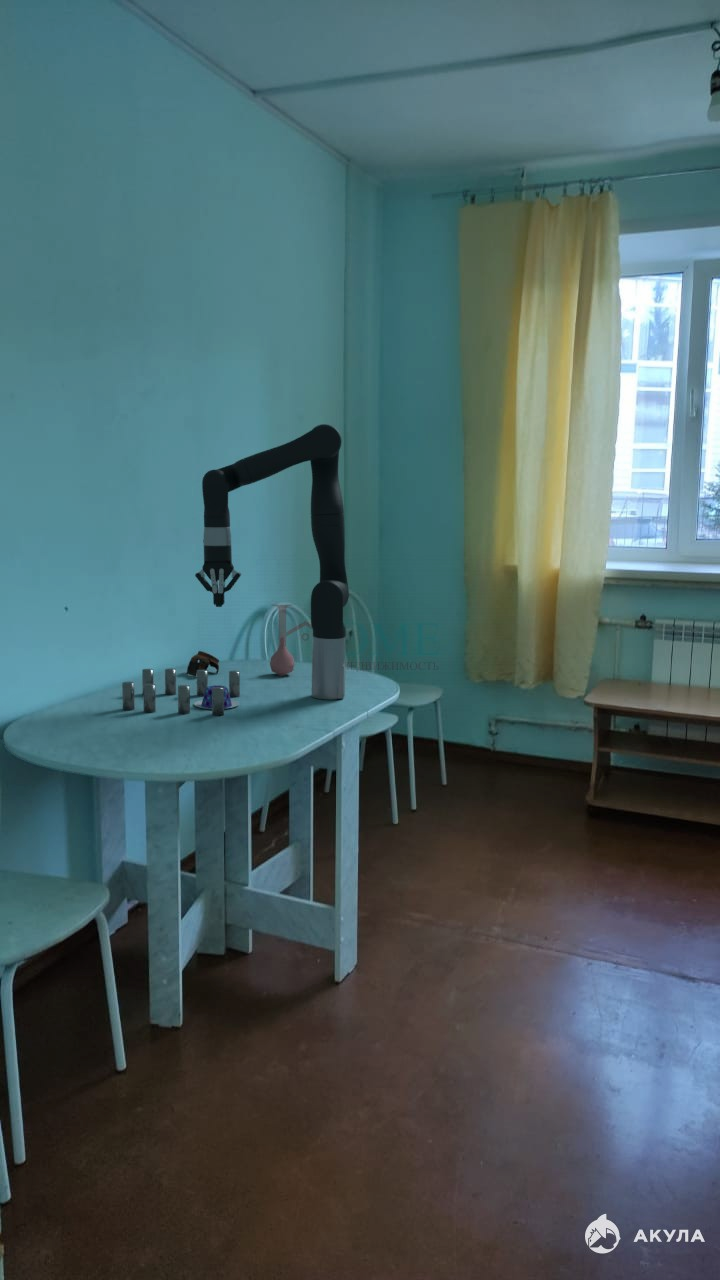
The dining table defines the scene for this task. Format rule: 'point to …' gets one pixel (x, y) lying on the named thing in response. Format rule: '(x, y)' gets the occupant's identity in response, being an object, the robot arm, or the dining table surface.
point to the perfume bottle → (282, 660)
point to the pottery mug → (202, 663)
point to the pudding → (208, 699)
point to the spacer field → (180, 691)
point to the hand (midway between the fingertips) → (219, 606)
